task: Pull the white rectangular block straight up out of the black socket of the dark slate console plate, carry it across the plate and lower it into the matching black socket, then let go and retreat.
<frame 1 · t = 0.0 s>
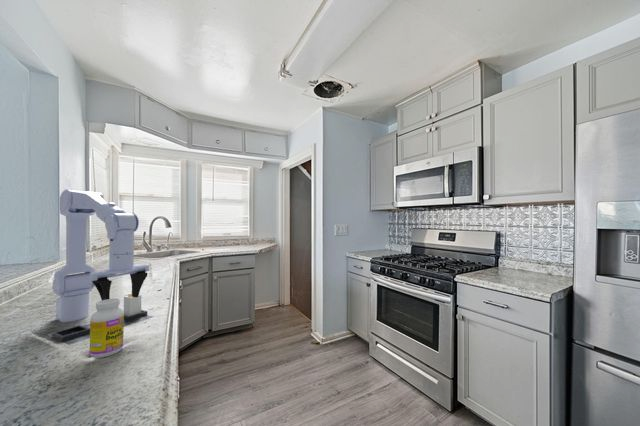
hand: (121, 300, 76), 10 cm above the countertop, tool pointing down, fingers open, 7 cm apart
white rectangular block: (132, 316, 88), point 1 cm above the countertop, touching panel
supplement bottle: (106, 353, 66), on the countertop
panel: (104, 327, 81), on the countertop
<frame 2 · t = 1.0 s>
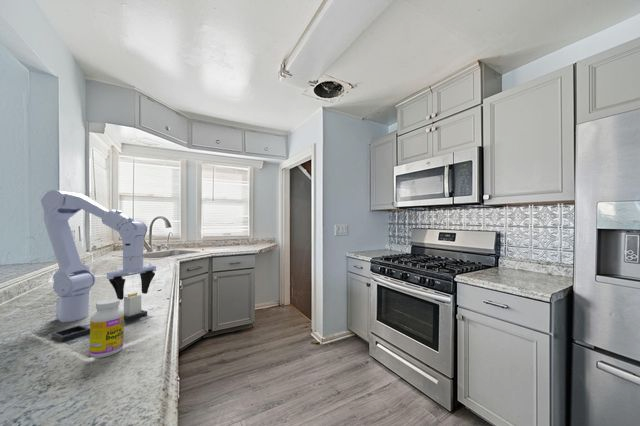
hand: (132, 296, 88), 8 cm above the countertop, tool pointing down, fingers open, 7 cm apart
nothing on the countertop moved.
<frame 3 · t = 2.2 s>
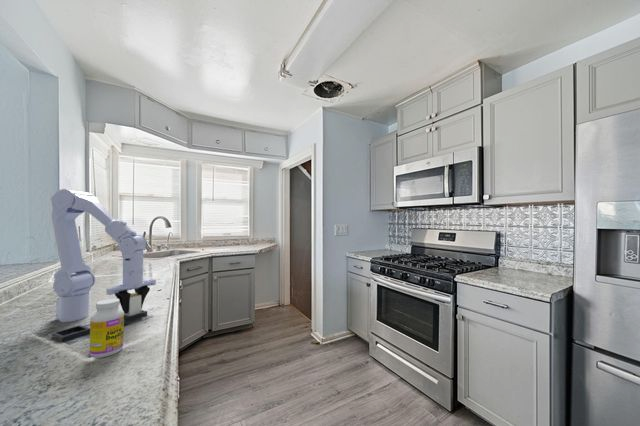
hand: (132, 310, 88), 3 cm above the countertop, tool pointing down, fingers closed on white rectangular block, 4 cm apart
white rectangular block: (132, 316, 88), point 1 cm above the countertop, touching gripper, panel
everything else where it was.
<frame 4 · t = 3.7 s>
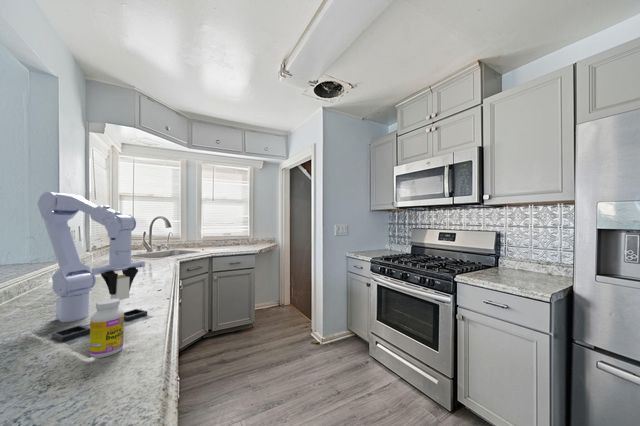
hand: (119, 292, 85), 10 cm above the countertop, tool pointing down, fingers closed on white rectangular block, 4 cm apart
white rectangular block: (120, 298, 85), point 8 cm above the countertop, touching gripper
everything else where it was.
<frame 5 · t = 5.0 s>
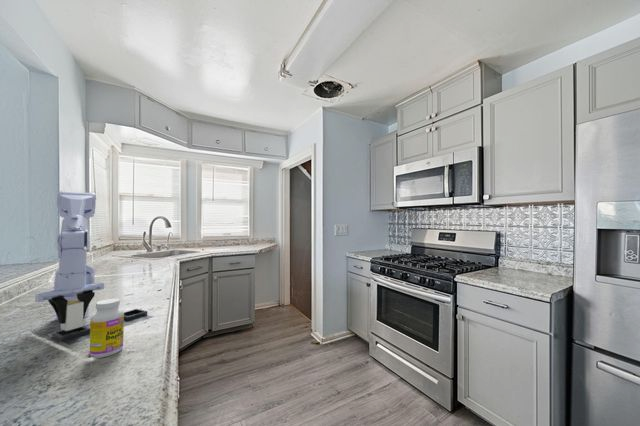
hand: (71, 320, 74), 5 cm above the countertop, tool pointing down, fingers closed on white rectangular block, 4 cm apart
white rectangular block: (71, 327, 74), point 3 cm above the countertop, touching gripper
everything else where it was.
when the fingers open (4 cm above the countertop, at t = 5.7 s): white rectangular block stays where it is, resting on panel.
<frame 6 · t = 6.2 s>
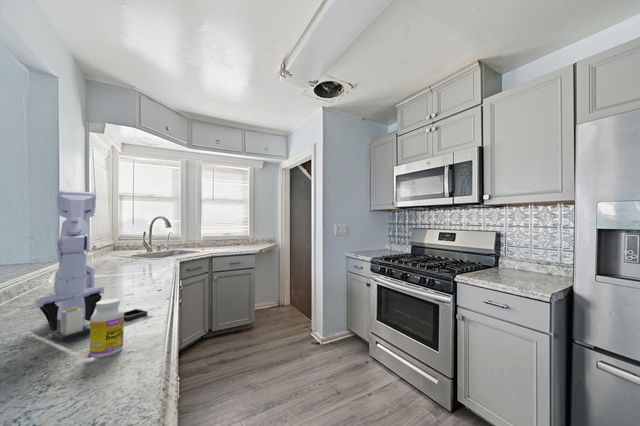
hand: (71, 324, 74), 4 cm above the countertop, tool pointing down, fingers open, 7 cm apart
white rectangular block: (71, 335, 74), point 1 cm above the countertop, touching panel
everything else where it was.
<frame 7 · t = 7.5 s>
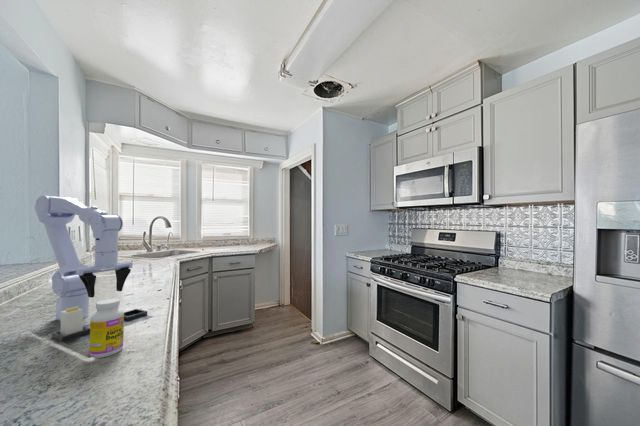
hand: (105, 293, 84), 10 cm above the countertop, tool pointing down, fingers open, 7 cm apart
nothing on the countertop moved.
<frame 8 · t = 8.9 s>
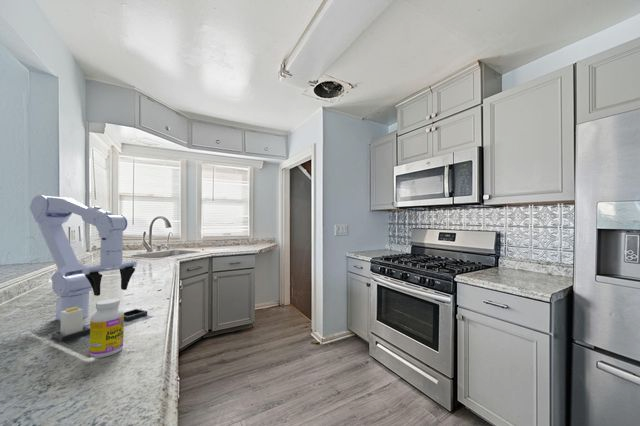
hand: (111, 292, 85), 10 cm above the countertop, tool pointing down, fingers open, 7 cm apart
nothing on the countertop moved.
at the end: white rectangular block 0.2 cm from the target spot on the panel, point 0.8 cm above the panel's base; white rectangular block tilted 0°; the gripper is holding nothing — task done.
